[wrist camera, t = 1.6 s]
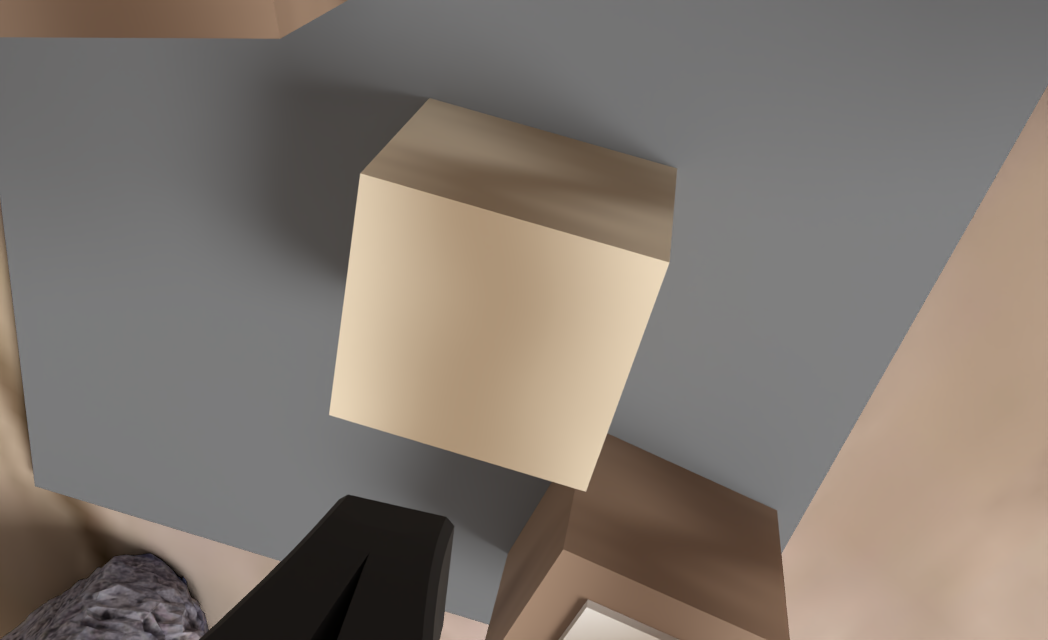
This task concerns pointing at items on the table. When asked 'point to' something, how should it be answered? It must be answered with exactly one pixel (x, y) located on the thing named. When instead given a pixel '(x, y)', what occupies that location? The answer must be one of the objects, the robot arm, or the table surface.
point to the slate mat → (526, 98)
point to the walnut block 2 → (643, 559)
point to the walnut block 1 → (158, 18)
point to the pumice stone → (119, 606)
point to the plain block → (499, 290)
